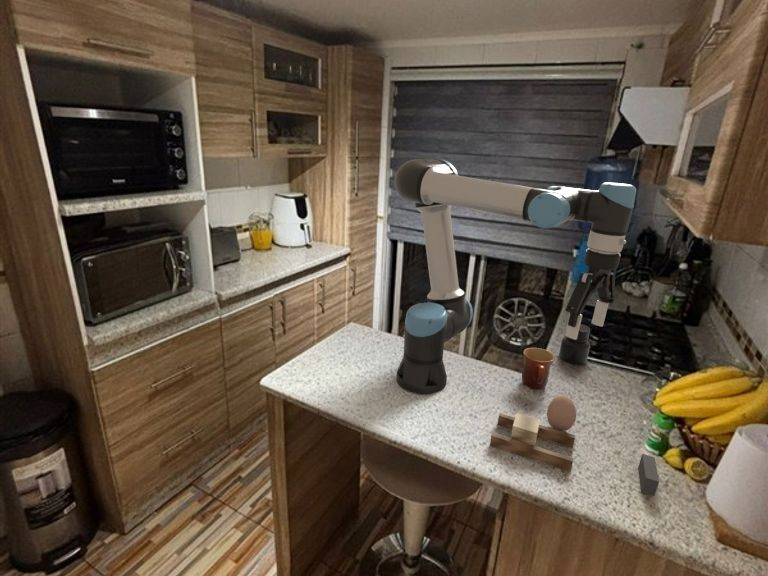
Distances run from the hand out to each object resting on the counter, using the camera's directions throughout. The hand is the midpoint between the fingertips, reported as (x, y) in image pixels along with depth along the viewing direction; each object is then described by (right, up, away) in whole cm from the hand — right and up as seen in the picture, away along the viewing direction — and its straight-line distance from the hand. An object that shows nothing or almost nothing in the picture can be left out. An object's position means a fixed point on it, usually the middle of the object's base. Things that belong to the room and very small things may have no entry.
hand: (584, 331), depth 106 cm
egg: (-6, -26, +1) cm, 26 cm away
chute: (-15, -27, -6) cm, 32 cm away
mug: (-6, -19, +19) cm, 28 cm away
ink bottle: (+13, -14, +37) cm, 41 cm away
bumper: (+6, -31, -15) cm, 35 cm away
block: (-17, -27, -5) cm, 32 cm away
